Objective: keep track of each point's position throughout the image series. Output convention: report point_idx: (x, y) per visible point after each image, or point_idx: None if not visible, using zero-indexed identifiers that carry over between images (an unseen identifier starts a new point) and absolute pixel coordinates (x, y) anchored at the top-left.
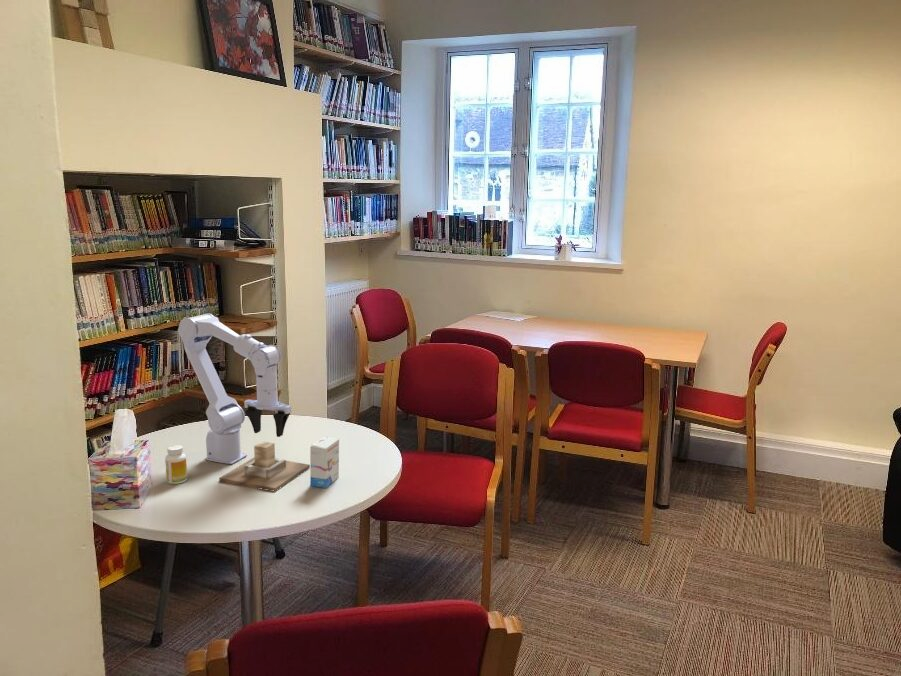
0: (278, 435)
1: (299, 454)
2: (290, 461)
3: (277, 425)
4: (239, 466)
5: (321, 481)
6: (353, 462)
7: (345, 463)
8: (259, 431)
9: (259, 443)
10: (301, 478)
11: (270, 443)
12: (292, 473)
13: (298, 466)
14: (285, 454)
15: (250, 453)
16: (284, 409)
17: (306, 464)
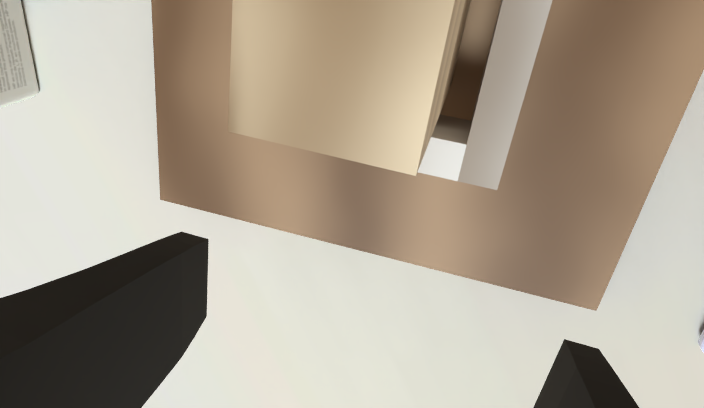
0: (165, 237)
1: (332, 375)
2: (302, 234)
3: (24, 314)
4: (696, 68)
5: None
6: (19, 290)
7: (43, 274)
8: (537, 402)
9: (424, 87)
10: (127, 5)
11: (274, 119)
12: (179, 19)
13: (208, 158)
14: (416, 373)
15: (681, 384)
16: None
17: (179, 199)
